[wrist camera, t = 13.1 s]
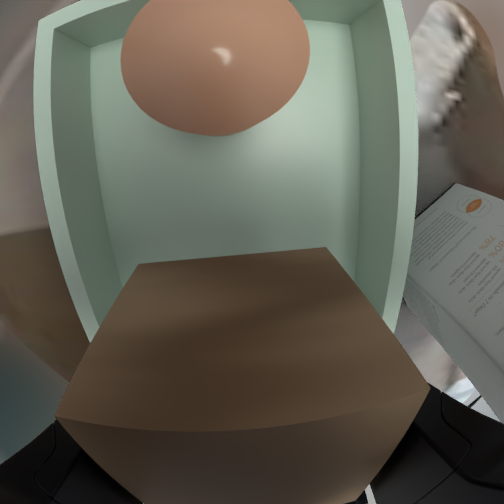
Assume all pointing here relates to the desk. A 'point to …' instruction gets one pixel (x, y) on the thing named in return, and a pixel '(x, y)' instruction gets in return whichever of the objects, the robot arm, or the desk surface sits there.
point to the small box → (463, 284)
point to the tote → (229, 158)
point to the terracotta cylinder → (214, 62)
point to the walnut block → (243, 383)
